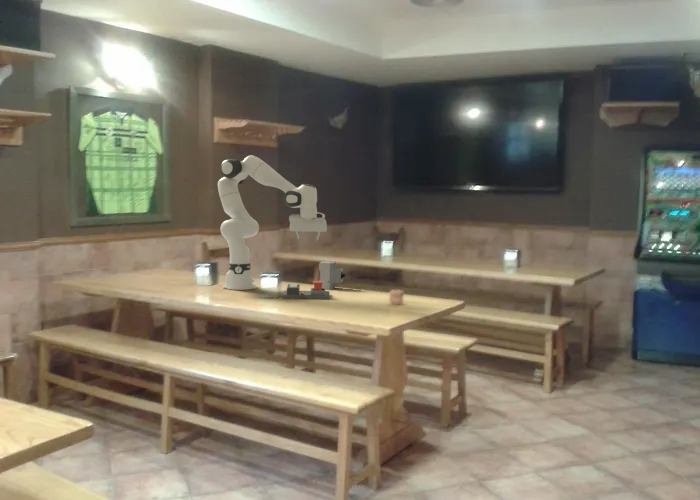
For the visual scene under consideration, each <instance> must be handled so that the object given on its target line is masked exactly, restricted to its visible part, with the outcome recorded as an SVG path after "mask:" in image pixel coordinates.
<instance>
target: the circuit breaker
mask: <svg viewBox="0 0 700 500" xmlns="http://www.w3.org/2000/svg"><path fill="white" fill-rule="evenodd" d="M318 271H319V272H320V273H319V274H320V275H319V280H318V281H323V284H322V288H325V290H334V289H336V284H341V283H343V281H344V277H346V274H345V273H344V268H337V262H336V261H327V260H325V261H324V260H321V261H320V262H319V264H318Z"/></svg>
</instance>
